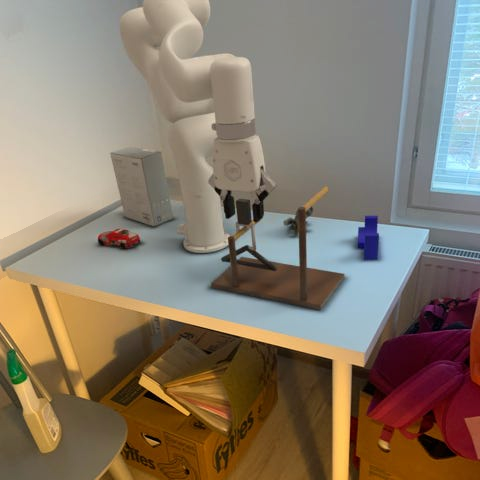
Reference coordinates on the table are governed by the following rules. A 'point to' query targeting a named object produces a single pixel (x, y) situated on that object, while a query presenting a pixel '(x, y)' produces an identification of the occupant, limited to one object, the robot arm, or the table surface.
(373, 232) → the cable clip
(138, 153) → the hard drive box
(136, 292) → the table surface
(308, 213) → the eagle figurine
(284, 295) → the rack
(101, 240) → the race car
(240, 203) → the hanger
